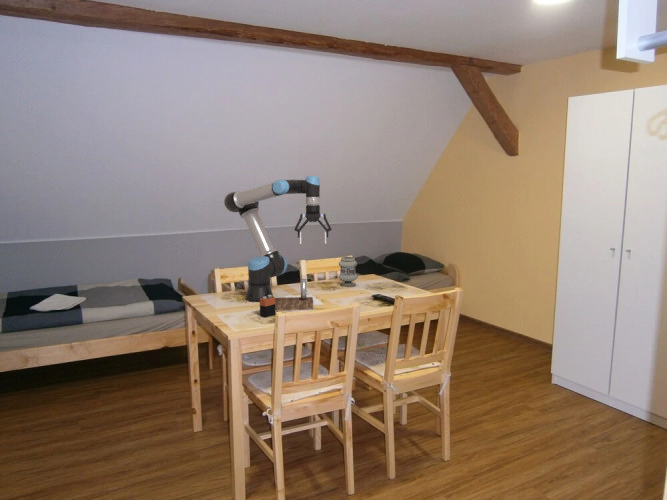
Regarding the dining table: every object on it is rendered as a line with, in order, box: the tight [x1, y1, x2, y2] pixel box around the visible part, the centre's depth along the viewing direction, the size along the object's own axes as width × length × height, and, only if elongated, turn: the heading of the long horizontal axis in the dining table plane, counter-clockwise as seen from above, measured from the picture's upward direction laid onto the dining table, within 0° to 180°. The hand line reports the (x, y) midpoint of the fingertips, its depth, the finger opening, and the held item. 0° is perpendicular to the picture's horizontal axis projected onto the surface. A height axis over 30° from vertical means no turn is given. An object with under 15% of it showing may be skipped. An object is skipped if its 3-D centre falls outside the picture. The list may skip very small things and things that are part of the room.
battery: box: [259, 295, 276, 319], centre depth 244 cm, size 4×7×10 cm, turn 140°
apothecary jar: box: [338, 256, 358, 288], centre depth 314 cm, size 12×12×18 cm
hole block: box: [275, 296, 314, 311], centre depth 259 cm, size 24×9×4 cm, turn 95°
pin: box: [300, 278, 308, 300], centre depth 259 cm, size 3×3×14 cm
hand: (313, 243), depth 272 cm, fingers open, 13 cm apart
